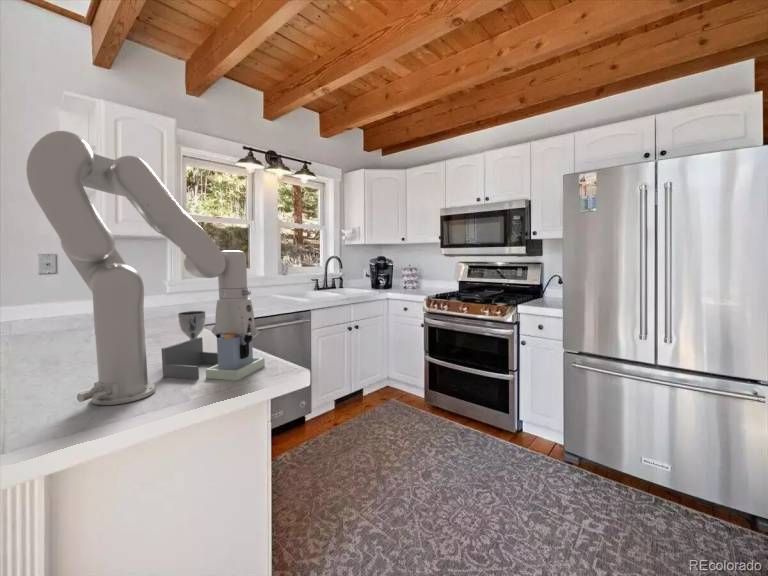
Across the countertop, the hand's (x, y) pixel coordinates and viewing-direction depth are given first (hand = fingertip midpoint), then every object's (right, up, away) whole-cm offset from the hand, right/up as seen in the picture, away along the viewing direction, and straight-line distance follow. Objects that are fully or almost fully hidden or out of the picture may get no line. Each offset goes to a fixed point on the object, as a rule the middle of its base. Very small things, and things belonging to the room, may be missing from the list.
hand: (235, 356), depth 105 cm
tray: (0, -5, 0) cm, 5 cm away
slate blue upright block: (0, -3, 0) cm, 3 cm away
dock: (-11, -4, +2) cm, 12 cm away
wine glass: (-21, -4, +17) cm, 27 cm away
